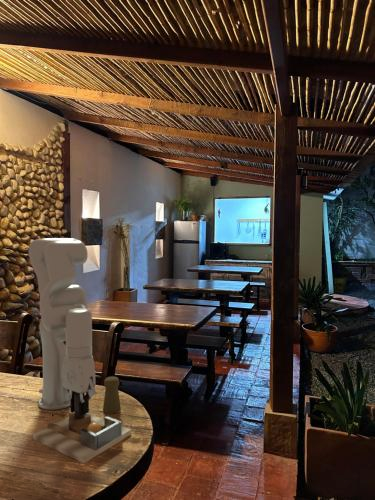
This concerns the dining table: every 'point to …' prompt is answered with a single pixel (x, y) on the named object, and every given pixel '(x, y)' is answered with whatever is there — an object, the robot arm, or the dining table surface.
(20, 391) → the dining table surface
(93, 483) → the dining table surface
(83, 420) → the player block
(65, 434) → the lane board
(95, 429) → the ball
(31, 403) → the dining table surface
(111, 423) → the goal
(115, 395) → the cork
